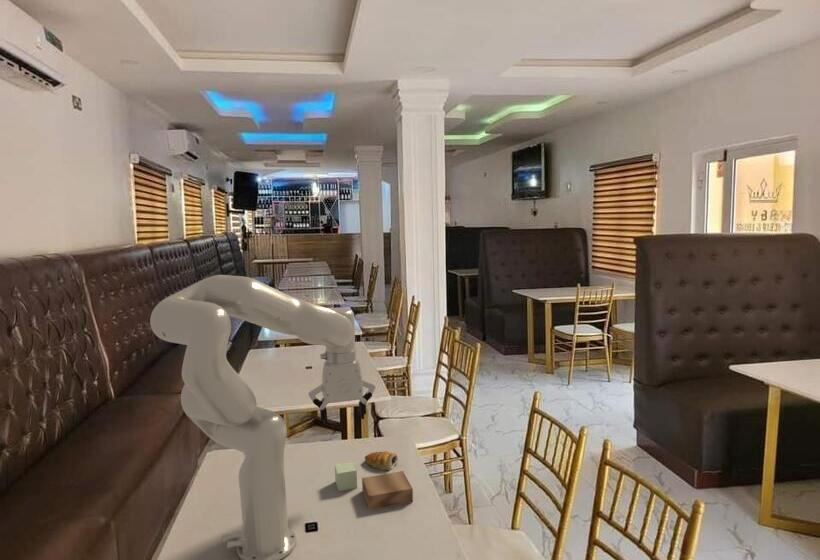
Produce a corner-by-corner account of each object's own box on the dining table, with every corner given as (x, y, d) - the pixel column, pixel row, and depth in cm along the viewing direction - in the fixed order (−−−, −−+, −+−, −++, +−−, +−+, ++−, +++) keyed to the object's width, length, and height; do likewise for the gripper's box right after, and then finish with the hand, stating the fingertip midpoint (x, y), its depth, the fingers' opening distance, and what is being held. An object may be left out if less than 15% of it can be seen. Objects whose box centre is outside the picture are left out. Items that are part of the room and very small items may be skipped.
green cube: (338, 491, 141) (337, 473, 140) (335, 481, 146) (334, 464, 145) (357, 488, 142) (356, 470, 141) (353, 478, 147) (353, 461, 146)
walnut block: (369, 511, 132) (369, 496, 131) (362, 492, 141) (362, 477, 140) (412, 503, 135) (412, 488, 134) (403, 485, 144) (402, 471, 143)
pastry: (360, 466, 153) (360, 454, 153) (371, 456, 160) (371, 444, 159) (390, 472, 150) (390, 459, 149) (400, 461, 156) (400, 449, 155)
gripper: (308, 364, 133) (311, 430, 135) (377, 357, 137) (379, 420, 140) (305, 355, 140) (308, 418, 142) (370, 349, 144) (373, 410, 147)
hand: (343, 419), depth 141 cm, fingers open, 9 cm apart
